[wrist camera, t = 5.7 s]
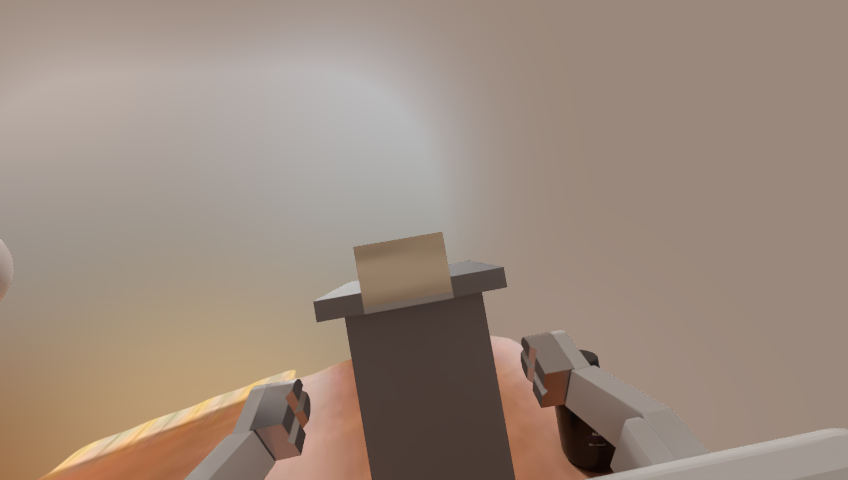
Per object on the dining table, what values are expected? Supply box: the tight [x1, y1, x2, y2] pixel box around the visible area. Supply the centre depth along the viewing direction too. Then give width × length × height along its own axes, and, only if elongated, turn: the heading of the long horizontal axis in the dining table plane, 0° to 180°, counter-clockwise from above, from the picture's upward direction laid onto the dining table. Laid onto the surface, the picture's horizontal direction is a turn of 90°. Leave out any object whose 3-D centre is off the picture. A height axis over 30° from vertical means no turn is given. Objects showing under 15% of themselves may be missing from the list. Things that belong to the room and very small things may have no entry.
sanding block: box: [354, 232, 454, 314], centre depth 24 cm, size 21×4×3 cm, turn 3°
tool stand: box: [314, 261, 515, 480], centre depth 28 cm, size 13×14×26 cm
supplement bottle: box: [555, 350, 616, 472], centre depth 37 cm, size 7×7×12 cm
